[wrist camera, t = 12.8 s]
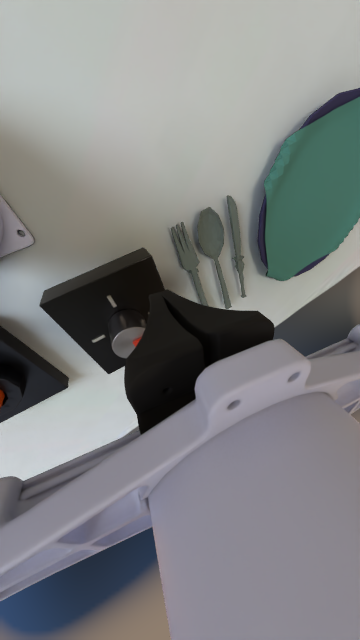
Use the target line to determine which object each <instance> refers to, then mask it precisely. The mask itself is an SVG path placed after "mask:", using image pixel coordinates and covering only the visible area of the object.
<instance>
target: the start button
mask: <svg viewBox="0 0 360 640" xmlns="http://www.w3.org/2000/svg"><path fill="white" fill-rule="evenodd" d="M4 397H5V395H4V392H3V391H2V390H1V389H0V409H1V406H2V403H3V400H4Z"/></svg>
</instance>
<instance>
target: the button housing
mask: <svg viewBox="0 0 360 640" xmlns="http://www.w3.org/2000/svg"><path fill="white" fill-rule="evenodd" d="M68 380H69V378H68V377H67V376H65V375H64V374H63V373H62V372H60V371H59V370H58V369H56V368H55V367H54V366H52V365H51V364H50V363H48V362H47V361H46V360H44V359H43V358H42V357H40V356H39V355H38V354H37V353H35V352H34V351H33V350H31V349H30V348H29V347H27V346H26V345H25V344H23V343H22V342H21V341H19V340H18V339H17V338H15V337H14V336H13V335H12V334H10V333H9V332H8V331H6V330H5V329H4V328H2V327H1V326H0V389H1V390H2V391H3V392H4V395H5V397H4V400H3V403H2V406H1V409H0V423H1V422H3V421H5V420H7V419H9V418H11V417H13V416H14V415H16V414H18V413H20V412H22V411H24V410H26V409H28V408H30V407H32V406H34V405H36V404H38V403H39V402H41V401H43V400H45V399H47V398H49V397H51V396H53V395H55V394H57V393H59V392H61V391H63V390H64V389H66V388H68Z"/></svg>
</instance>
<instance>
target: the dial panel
mask: <svg viewBox="0 0 360 640" xmlns="http://www.w3.org/2000/svg"><path fill="white" fill-rule="evenodd" d="M164 290H165V289H164V287H163V284H162V281H161V279H160V276H159V273H158V271H157V268H156V266H155V263H154V260H153V258H152V256H151V254H150V253H149V252H148V251H147V250H146V249H145V248H141V249H139V250H137V251H134V252H132V253H130V254H128V255H125V256H123V257H121V258H118V259H116V260H114V261H111V262H109V263H107V264H105V265H102V266H100V267H98V268H95V269H93V270H91V271H89V272H86V273H84V274H82V275H79V276H77V277H75V278H73V279H70V280H68V281H66V282H63V283H61V284H59V285H56V286H54V287H52V288H50V289H47V290H45V291H44V293H43V296H42V299H41V302H40V307H41V308H42V309H43V310H44V311H45V312H46V313H47V314H48V315H49V316H50V317H51V318H52V319H53V320H54V321H55V322H56V323H57V324H58V325H59V326H61V327H62V328H63V329H64V330H65V331H66V332H67V333H68V334H69V335H70V336H71V337H72V338H73V339H74V340H75V341H76V342H77V343H78V344H79V345H80V346H81V347H82V348H83V349H84V350H85V351H86V352H87V353H88V354H89V355H90V356H91V357H92V358H93V359H94V360H95V361H96V362H97V363H98V364H99V365H100V366H101V367H102V368H103V369H104V370H105V371H106V372H107V373H108V374H110V373H112V372H114V371H116V370H118V369H120V368H122V367H124V366H125V365H126V359H127V358H122V357H120V356H118V355H116V354H115V353H114V351H113V349H112V344H111V339H110V334H109V329H108V323H109V320H110V319H111V317H112V316H113V315H114V314H115V313H117V312H119V311H121V310H126V309H131V310H135V311H138V312H139V313H140V314H141V315H142V316H143V318H144V320H145V322H146V324H147V321H148V317H149V311H150V301H149V295H151V294H154V293H158V292H161V291H164Z"/></svg>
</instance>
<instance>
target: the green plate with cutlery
mask: <svg viewBox="0 0 360 640" xmlns="http://www.w3.org/2000/svg"><path fill="white" fill-rule="evenodd" d="M264 187H265V191H266V194H265V197H264V201H263V204H262V208H261V211H260V215H259V228H258V246H259V251H260V256H261V260H262V262H263V263H264V265H265V266H266V267H267V269H268V271H267V273H266V276H268V277H272V278H274V279H276V280H279V281H285V280H288V279H290V278H291V277H293V276H298V275H300V274H302V273H304V272H306V271H308V270H310V269H312V268H313V267H314V266H316V265H317V264H318V263H320V262H321V261H322V260H324V259H325V258H326V257H327V256H328V255H329V254H330V253H331V252H333V251H335V250H336V249H337V248H338V247H339V245H340V244H341V243H342V242H343V241H344V238H345V237H347V236H348V233H349V232H350V231H351V230H352V229H353V226H354V225H355V224H356V223H357V222H358V219H359V218H360V88H358V89H354V90H350V91H346V92H342V93H339V94H337V95H335V96H334V97H333V98H332V99H330V100H329V101H328V102H327V103H325V104H324V105H323V106H322V107H320V108H319V109H318V110H317V111H315V112H314V113H313V114H312V115H310V116H309V118H308V119H307V120H306V122H305V123H304V124H303V126H302V127H301V128H300V130H299V131H297V132H295V133H294V134H292V135H291V136H290V137H288V138H287V139H286V140H285V142H284V143H283V145H282V146H281V149H280V153H279V155H278V156H277V158H276V159H275V164H274V165H273V167H272V168H271V170H270V173H269V175H268V177H267V178H266V179H265V181H264ZM227 203H228V209H229V216H230V222H231V229H232V236H233V242H234V249H235V256H236V257H234V258H233V259H234V260H235V261H236V266H235V267H236V269H237V271H238V272H239V278H240V283H241V292H242V295H241V297H242V298H244V297H246V295H245V290H244V278H243V268H244V263H243V262H242V259H243V258H244V257H243V256H241V255H240V254H241V240H240V230H239V222H238V214H237V207H236V203H235V201H234V200H233V198H232V197H231V196H227ZM181 226H182V231H183V234H184V238H185V241H186V243H185V241H184V238H183V236H182V234H181V231H180V228H179V226H178V224H177V225H176V228H177V232H178V236H179V239H180V242H181V245H180V243H179V240H178V238H177V236H176V233H175V231H174V228H173V227H172V228H171V231H172V234H173V238H174V241H175V244H176V247H177V250H178V253H179V257H180V261H181V264H182V267H183V268H184V269H185V270H188V271H189V273H190V274H192V277H193V280H194V284H195V287H196V290H197V293H198V295H199V298H200V301H201V303H202V305H205V306H208V304H207V301H206V299H205V296H204V293H203V290H202V287H201V283H200V280H199V277H198V274H197V272H199V271H198V270H197V268H196V266H197V265H198V263H199V260H198V258H197V255H196V253H195V251H194V249H193V246H192V244H191V241H190V239H189V237H188V234H187V232H186V229H185V226H184V223H183V222H181ZM197 228H198V238H199V244H200V246H201V248H202V249H203V251H204V253H205V254H206V255H207V256H209V257H211V258H212V259H214V261H215V265H216V269H217V273H218V277H219V281H220V285H221V289H222V294H223V299H224V304H225V308H226V309H229V308H230V307H232V306H231V302H230V299H229V295H228V291H227V288H226V284H225V281H224V278H223V274H222V271H221V267H220V264H219V261H218V257H219V255H220V253H221V250H222V247H223V244H224V228H223V226H222V223H221V221H220V218H219V215H218V214H217V213H216V212H215V211H214V210H212V209H211V208H210V207H208V208H206V209H205V210H203V211H201V214H200V218H199V222H198V226H197ZM181 246H182V247H181Z"/></svg>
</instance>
